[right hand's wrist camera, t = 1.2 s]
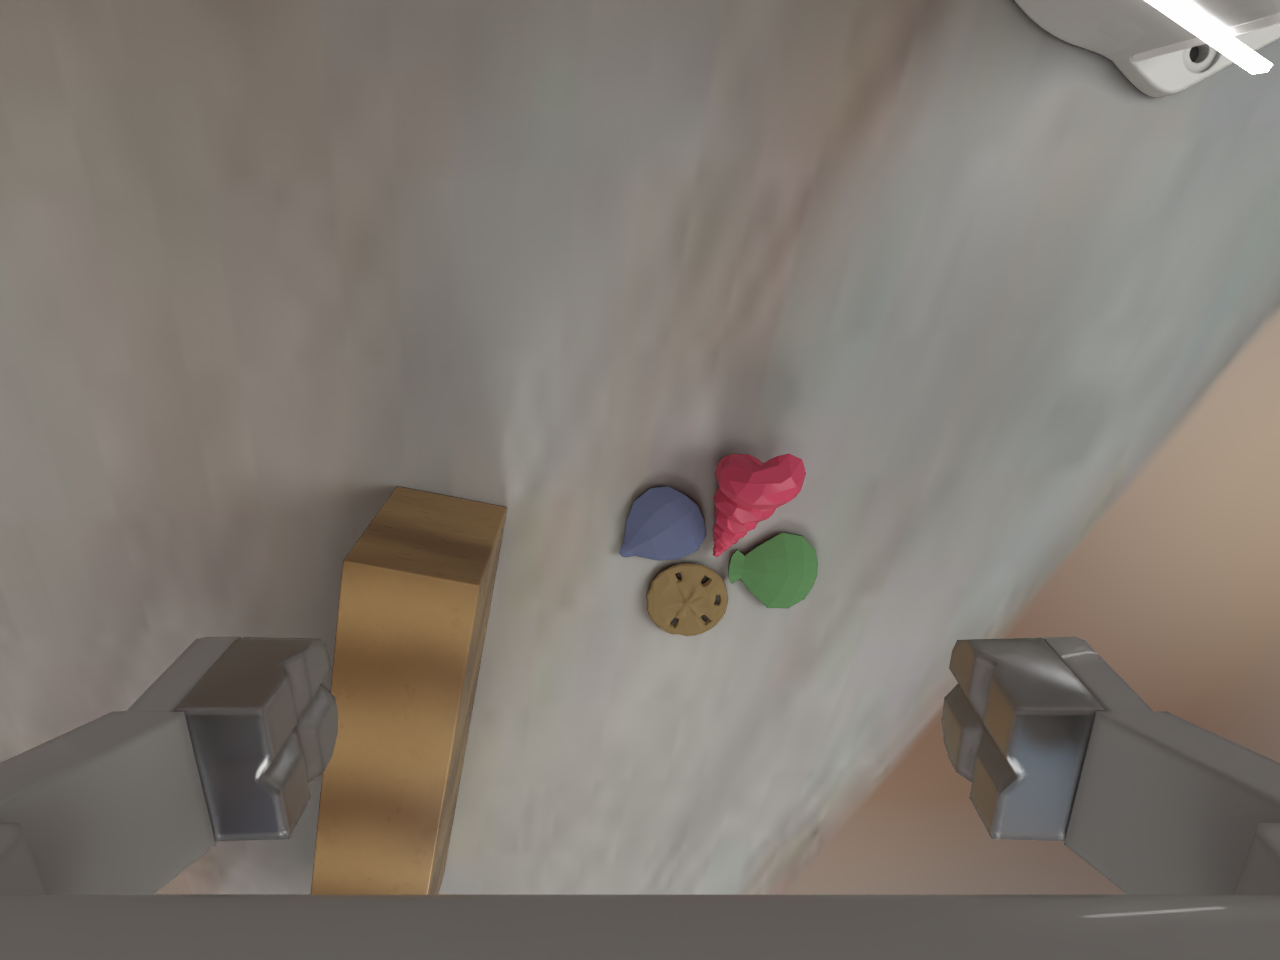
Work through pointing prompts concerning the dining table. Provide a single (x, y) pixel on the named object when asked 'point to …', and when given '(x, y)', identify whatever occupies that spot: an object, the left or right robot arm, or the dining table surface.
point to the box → (404, 692)
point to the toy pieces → (721, 543)
